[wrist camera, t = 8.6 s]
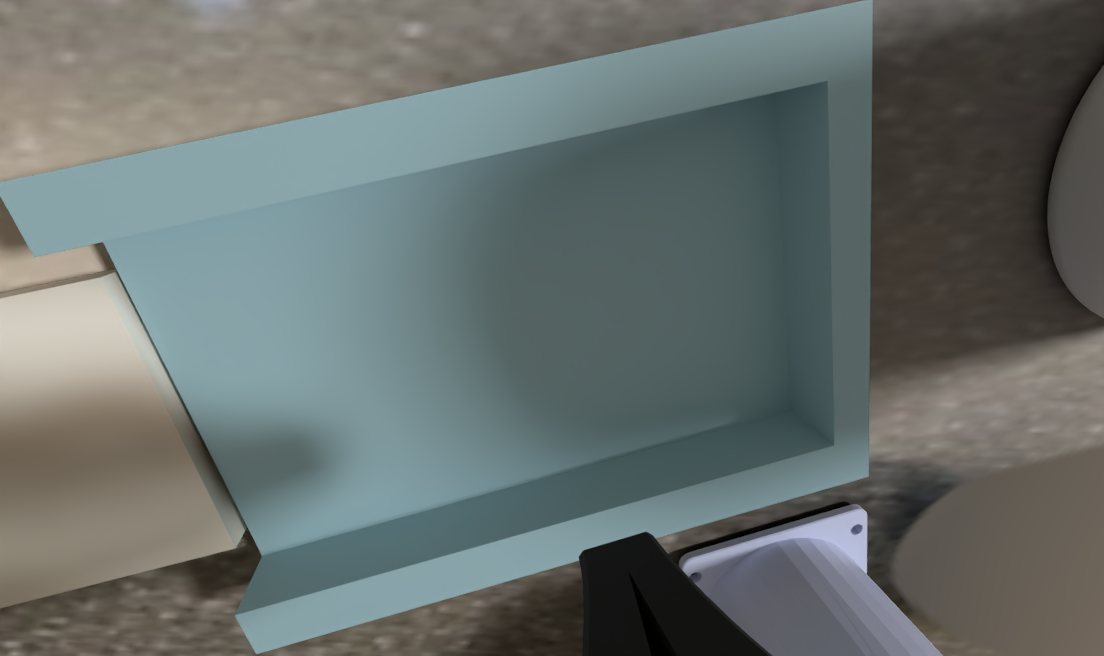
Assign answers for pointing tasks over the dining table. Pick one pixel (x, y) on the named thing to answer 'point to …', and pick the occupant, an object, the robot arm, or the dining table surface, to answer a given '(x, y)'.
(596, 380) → the teal box
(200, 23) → the dining table surface
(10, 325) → the cover plate
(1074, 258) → the cylinder vase
